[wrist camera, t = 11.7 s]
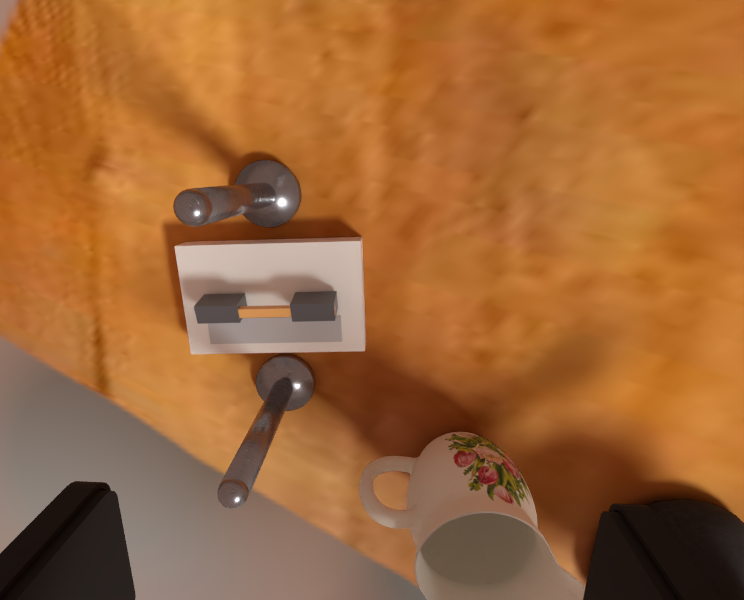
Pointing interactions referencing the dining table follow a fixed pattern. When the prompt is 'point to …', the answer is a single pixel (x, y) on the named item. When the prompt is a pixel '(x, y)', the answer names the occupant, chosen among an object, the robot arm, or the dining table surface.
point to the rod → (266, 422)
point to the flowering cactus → (708, 542)
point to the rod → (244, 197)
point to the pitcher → (471, 524)
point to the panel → (274, 293)
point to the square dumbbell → (266, 308)
